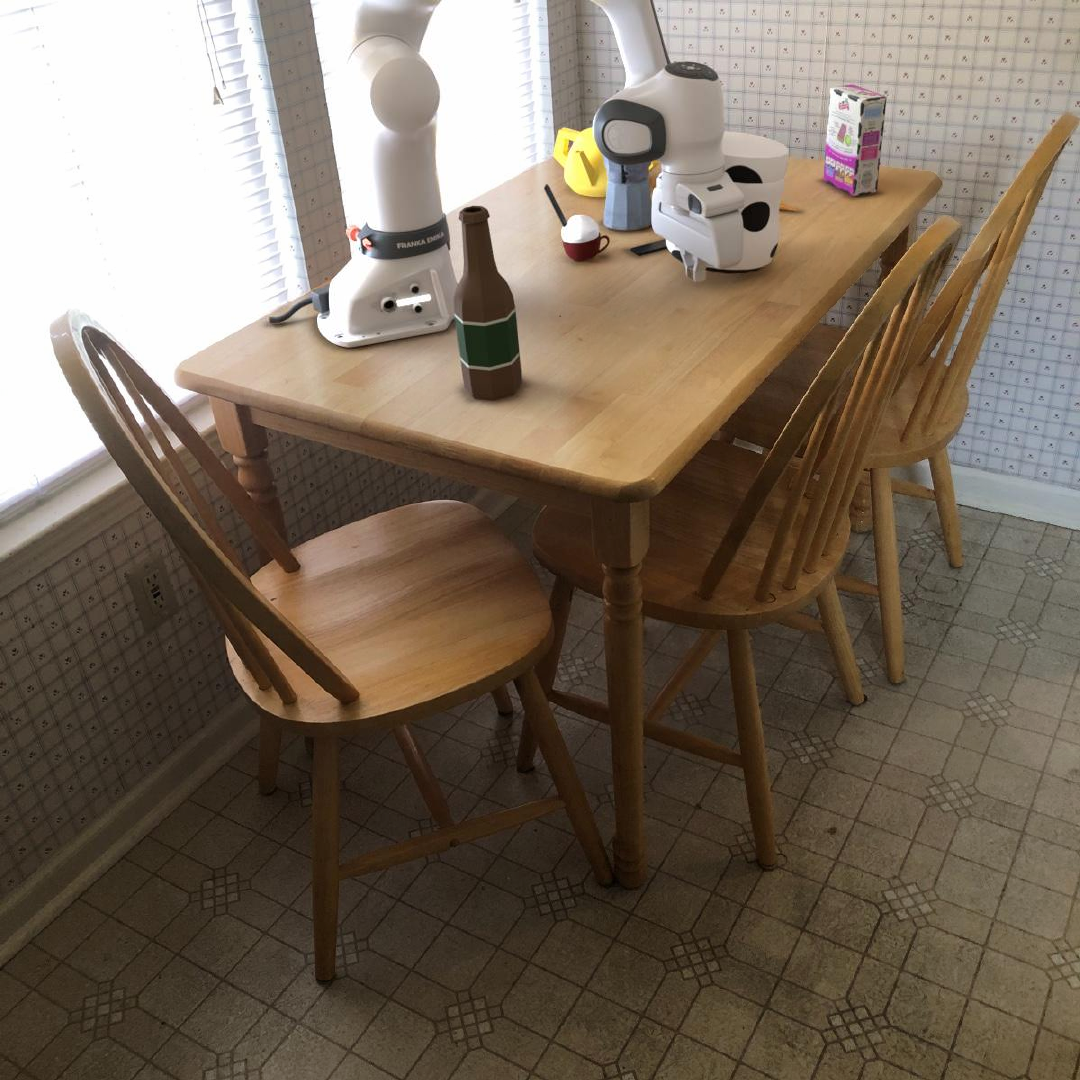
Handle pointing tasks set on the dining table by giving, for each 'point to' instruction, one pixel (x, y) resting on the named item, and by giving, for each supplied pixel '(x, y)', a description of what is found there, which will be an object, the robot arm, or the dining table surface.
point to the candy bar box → (854, 139)
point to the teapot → (583, 162)
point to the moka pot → (627, 196)
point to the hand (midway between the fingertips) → (695, 278)
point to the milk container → (753, 196)
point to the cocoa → (578, 233)
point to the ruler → (649, 247)
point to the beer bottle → (485, 315)
